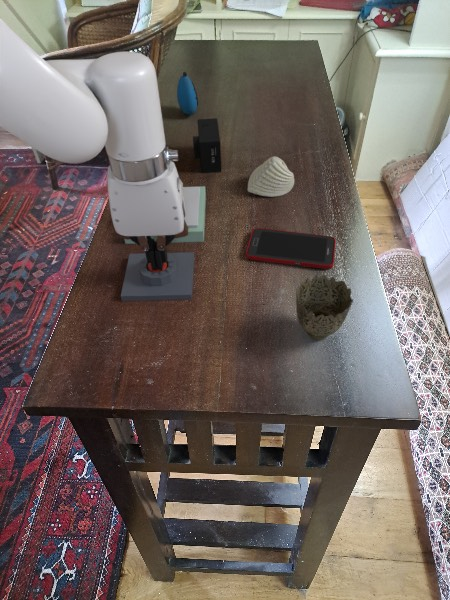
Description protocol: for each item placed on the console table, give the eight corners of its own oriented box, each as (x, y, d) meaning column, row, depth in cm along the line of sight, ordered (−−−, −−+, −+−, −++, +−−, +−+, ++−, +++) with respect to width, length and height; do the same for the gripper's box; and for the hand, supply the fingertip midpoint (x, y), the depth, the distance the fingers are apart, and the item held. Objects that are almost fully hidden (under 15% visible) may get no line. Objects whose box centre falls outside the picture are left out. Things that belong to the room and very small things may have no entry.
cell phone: (252, 231, 82) (252, 227, 82) (335, 241, 80) (336, 236, 79) (244, 259, 77) (244, 255, 76) (332, 270, 75) (333, 266, 74)
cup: (290, 312, 69) (295, 273, 63) (340, 313, 68) (349, 274, 63) (292, 351, 64) (297, 314, 58) (346, 353, 63) (356, 315, 58)
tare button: (148, 278, 73) (146, 271, 72) (150, 266, 75) (149, 258, 74) (167, 278, 73) (166, 271, 72) (168, 265, 75) (167, 258, 74)
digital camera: (194, 149, 104) (191, 119, 98) (218, 147, 104) (217, 117, 99) (195, 173, 96) (193, 142, 91) (221, 171, 97) (220, 140, 91)
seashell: (308, 179, 89) (285, 175, 83) (279, 208, 94) (256, 206, 88) (287, 148, 92) (264, 142, 86) (260, 178, 97) (236, 174, 91)
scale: (125, 244, 81) (122, 230, 79) (135, 198, 91) (132, 185, 89) (204, 242, 81) (202, 228, 79) (205, 196, 90) (205, 183, 88)
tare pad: (121, 301, 71) (118, 287, 69) (130, 258, 78) (127, 245, 76) (192, 299, 71) (190, 286, 69) (194, 257, 78) (193, 243, 76)
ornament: (203, 118, 114) (200, 76, 106) (185, 121, 112) (181, 79, 105) (191, 105, 119) (188, 64, 112) (175, 108, 118) (170, 67, 110)
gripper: (197, 143, 62) (205, 247, 75) (87, 147, 62) (115, 250, 75) (195, 173, 57) (204, 279, 70) (75, 177, 57) (107, 282, 70)
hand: (158, 264), depth 73 cm, fingers closed
